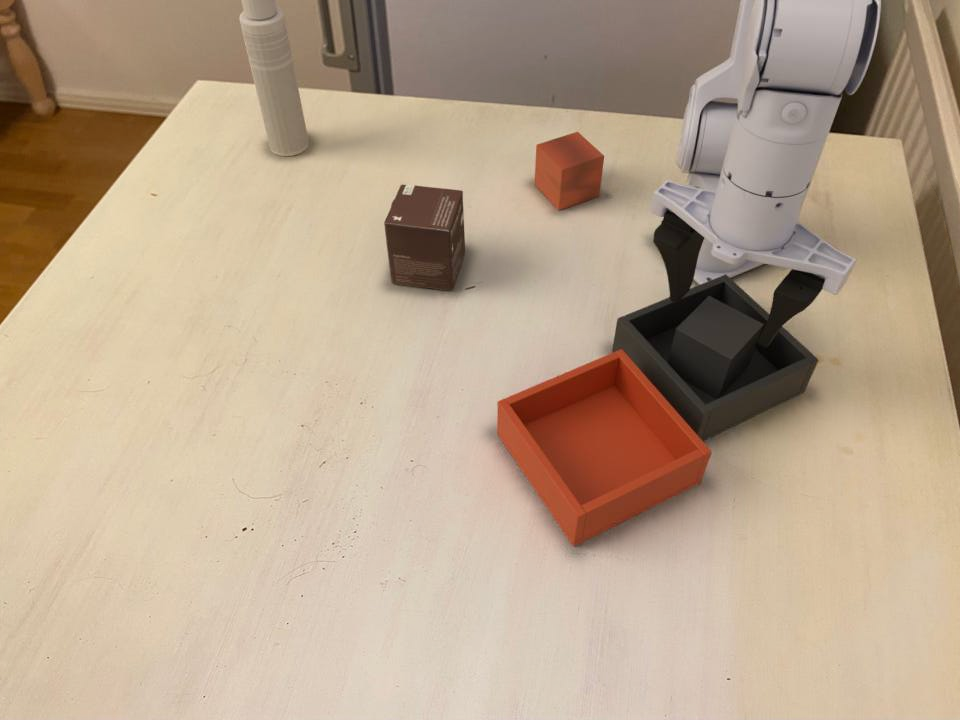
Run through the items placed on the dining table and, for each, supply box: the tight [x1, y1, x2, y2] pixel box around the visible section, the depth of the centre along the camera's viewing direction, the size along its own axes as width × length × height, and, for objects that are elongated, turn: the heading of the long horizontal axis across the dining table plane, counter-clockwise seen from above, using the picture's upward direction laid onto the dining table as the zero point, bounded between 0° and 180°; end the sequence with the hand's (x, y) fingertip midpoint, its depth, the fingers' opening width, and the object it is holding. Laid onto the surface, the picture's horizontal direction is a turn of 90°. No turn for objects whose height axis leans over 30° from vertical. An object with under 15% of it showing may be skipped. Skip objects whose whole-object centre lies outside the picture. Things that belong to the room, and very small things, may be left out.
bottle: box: [238, 0, 310, 157], centre depth 84 cm, size 4×4×20 cm
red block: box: [533, 131, 605, 211], centre depth 84 cm, size 5×5×5 cm
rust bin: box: [496, 349, 712, 547], centre depth 61 cm, size 11×11×4 cm
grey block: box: [668, 296, 763, 399], centre depth 66 cm, size 5×5×5 cm
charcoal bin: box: [611, 274, 820, 442], centre depth 67 cm, size 11×11×4 cm
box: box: [383, 184, 466, 291], centre depth 75 cm, size 6×6×7 cm
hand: (722, 316), depth 64 cm, fingers open, 7 cm apart
